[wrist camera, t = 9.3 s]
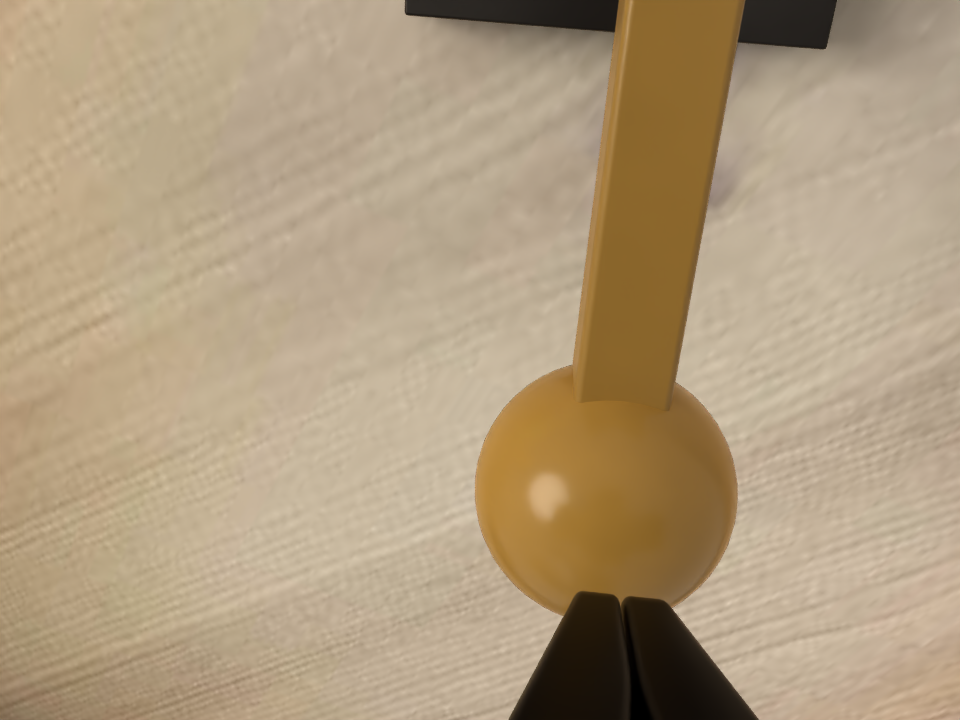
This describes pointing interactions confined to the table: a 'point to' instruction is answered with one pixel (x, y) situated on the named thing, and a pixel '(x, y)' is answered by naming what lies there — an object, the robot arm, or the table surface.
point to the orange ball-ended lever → (627, 347)
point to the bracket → (594, 4)
